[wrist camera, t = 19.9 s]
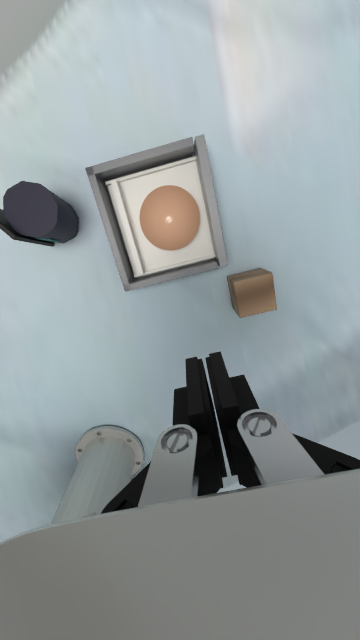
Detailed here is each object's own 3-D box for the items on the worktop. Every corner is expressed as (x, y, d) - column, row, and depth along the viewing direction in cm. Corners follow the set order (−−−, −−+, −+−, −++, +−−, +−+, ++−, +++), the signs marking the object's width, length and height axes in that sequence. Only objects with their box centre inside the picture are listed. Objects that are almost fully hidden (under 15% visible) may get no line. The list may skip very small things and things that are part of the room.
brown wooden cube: (265, 300, 38) (276, 309, 34) (232, 307, 39) (239, 317, 34) (260, 268, 37) (272, 272, 32) (226, 276, 37) (233, 282, 32)
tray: (138, 282, 37) (132, 288, 33) (106, 175, 33) (94, 166, 28) (222, 261, 36) (228, 265, 32) (200, 148, 32) (204, 134, 27)
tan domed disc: (204, 241, 34) (206, 241, 32) (151, 255, 35) (149, 257, 33) (191, 180, 32) (192, 177, 30) (134, 197, 33) (131, 195, 31)
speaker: (44, 256, 36) (-2, 255, 26) (20, 218, 35) (-38, 201, 25) (90, 232, 36) (62, 221, 26) (68, 192, 34) (29, 164, 24)
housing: (132, 284, 38) (125, 291, 33) (99, 177, 33) (85, 168, 28) (213, 264, 37) (218, 268, 32) (190, 151, 32) (192, 136, 27)
